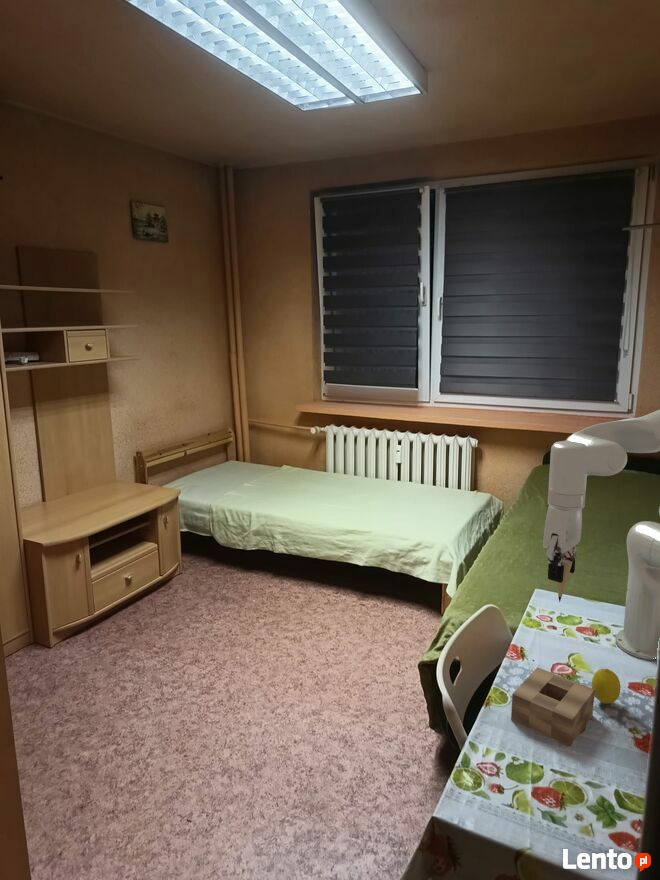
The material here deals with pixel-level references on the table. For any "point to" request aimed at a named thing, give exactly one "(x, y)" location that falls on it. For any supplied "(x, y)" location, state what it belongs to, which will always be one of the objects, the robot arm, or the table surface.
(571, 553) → the ice cream cone
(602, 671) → the lemon
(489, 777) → the table surface
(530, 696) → the cone stand
